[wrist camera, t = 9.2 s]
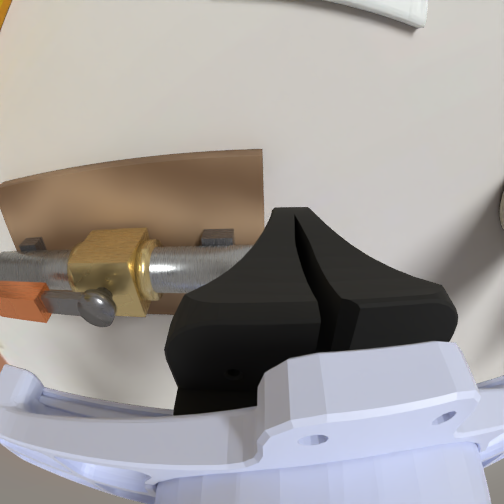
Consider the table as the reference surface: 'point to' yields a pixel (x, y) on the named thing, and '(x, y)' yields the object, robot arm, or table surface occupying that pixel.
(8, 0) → the packaging box
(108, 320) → the valve lever
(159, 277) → the valve pipe
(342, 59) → the table surface
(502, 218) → the travel mug
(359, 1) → the external hard drive
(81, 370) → the table surface
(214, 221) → the base board
